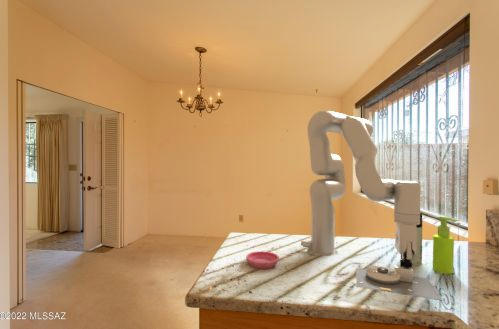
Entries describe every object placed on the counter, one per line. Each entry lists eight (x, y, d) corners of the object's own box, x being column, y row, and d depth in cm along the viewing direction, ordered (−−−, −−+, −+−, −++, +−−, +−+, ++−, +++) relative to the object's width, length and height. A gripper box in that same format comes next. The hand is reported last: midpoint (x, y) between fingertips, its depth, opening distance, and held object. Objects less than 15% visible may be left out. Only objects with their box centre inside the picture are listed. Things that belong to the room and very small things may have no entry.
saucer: (252, 257, 111) (252, 249, 111) (282, 261, 107) (282, 253, 107) (241, 268, 99) (241, 259, 99) (274, 273, 95) (274, 264, 95)
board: (356, 290, 82) (356, 285, 82) (355, 269, 98) (355, 266, 98) (442, 304, 75) (442, 299, 75) (426, 279, 90) (426, 275, 90)
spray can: (424, 268, 100) (425, 214, 100) (404, 267, 101) (405, 213, 101) (417, 262, 106) (418, 211, 106) (398, 260, 108) (399, 210, 108)
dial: (366, 281, 85) (367, 268, 85) (365, 269, 95) (365, 257, 95) (416, 288, 81) (416, 275, 81) (409, 275, 90) (409, 263, 90)
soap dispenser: (450, 279, 91) (452, 220, 90) (429, 272, 97) (430, 216, 97) (460, 276, 93) (461, 218, 93) (438, 269, 100) (439, 214, 99)
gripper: (391, 213, 99) (390, 263, 99) (397, 221, 85) (396, 280, 85) (414, 214, 96) (413, 266, 97) (425, 223, 82) (424, 284, 83)
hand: (405, 272), depth 91 cm, fingers closed
